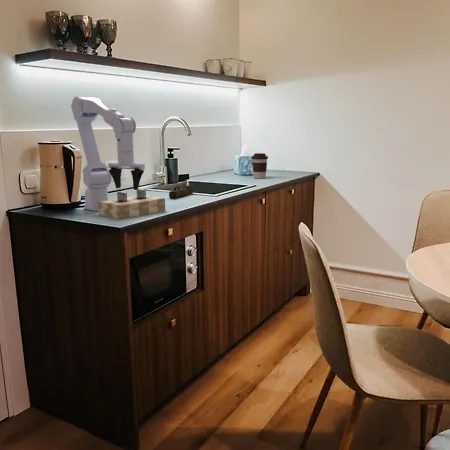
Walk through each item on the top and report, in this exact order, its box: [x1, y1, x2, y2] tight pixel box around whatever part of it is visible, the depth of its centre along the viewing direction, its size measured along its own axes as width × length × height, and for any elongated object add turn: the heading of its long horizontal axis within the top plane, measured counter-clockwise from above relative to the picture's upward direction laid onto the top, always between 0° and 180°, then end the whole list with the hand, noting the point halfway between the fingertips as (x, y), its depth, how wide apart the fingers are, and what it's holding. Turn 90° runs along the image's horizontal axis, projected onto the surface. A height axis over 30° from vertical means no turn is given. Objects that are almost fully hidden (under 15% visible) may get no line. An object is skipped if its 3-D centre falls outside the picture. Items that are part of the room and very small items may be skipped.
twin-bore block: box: [98, 194, 166, 220], centre depth 181 cm, size 14×21×5 cm, turn 138°
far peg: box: [135, 188, 147, 200], centre depth 184 cm, size 4×4×4 cm
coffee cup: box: [251, 152, 269, 180], centre depth 286 cm, size 10×10×15 cm
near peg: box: [116, 190, 128, 203], centre depth 177 cm, size 4×4×4 cm
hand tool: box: [168, 184, 194, 200], centre depth 221 cm, size 19×4×5 cm, turn 153°
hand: (127, 188), depth 174 cm, fingers open, 7 cm apart
